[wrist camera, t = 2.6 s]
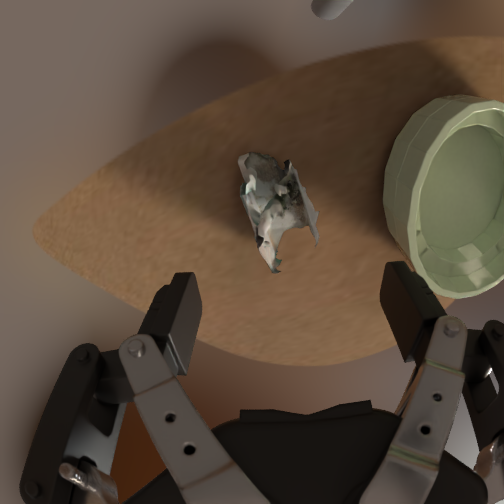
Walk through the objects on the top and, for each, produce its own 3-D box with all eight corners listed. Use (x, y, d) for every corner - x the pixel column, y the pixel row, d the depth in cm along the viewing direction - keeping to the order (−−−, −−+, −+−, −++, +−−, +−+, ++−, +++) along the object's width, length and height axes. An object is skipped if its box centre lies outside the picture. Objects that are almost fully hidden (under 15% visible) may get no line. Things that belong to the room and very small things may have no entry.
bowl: (381, 80, 15) (415, 78, 11) (518, 114, 14) (555, 126, 9) (370, 269, 23) (389, 308, 18) (492, 258, 21) (518, 287, 17)
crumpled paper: (271, 253, 22) (272, 314, 16) (232, 157, 19) (216, 188, 13) (324, 237, 21) (344, 294, 15) (292, 136, 18) (306, 157, 12)
